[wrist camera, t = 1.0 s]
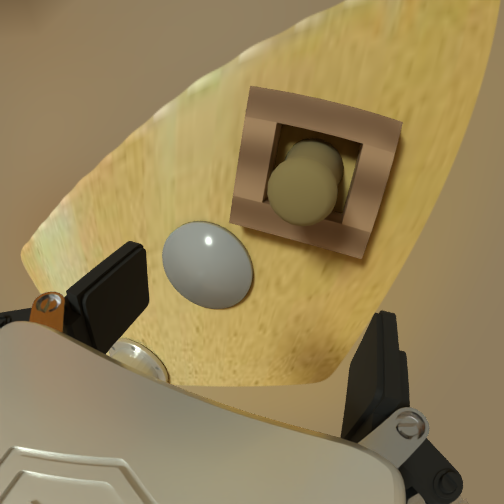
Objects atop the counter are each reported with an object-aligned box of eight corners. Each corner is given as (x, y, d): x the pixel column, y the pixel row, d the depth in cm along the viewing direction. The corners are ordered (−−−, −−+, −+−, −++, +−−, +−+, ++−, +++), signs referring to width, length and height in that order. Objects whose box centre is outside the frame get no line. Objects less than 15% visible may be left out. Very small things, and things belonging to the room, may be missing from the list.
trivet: (245, 316, 42) (243, 319, 41) (164, 289, 44) (162, 292, 43) (260, 235, 36) (259, 238, 35) (166, 210, 38) (163, 213, 37)
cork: (344, 196, 31) (343, 239, 22) (286, 196, 33) (260, 237, 24) (342, 137, 29) (342, 153, 19) (282, 139, 31) (252, 156, 21)
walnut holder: (360, 246, 33) (361, 259, 31) (238, 213, 35) (229, 222, 33) (397, 120, 26) (402, 122, 24) (258, 87, 29) (250, 86, 26)
